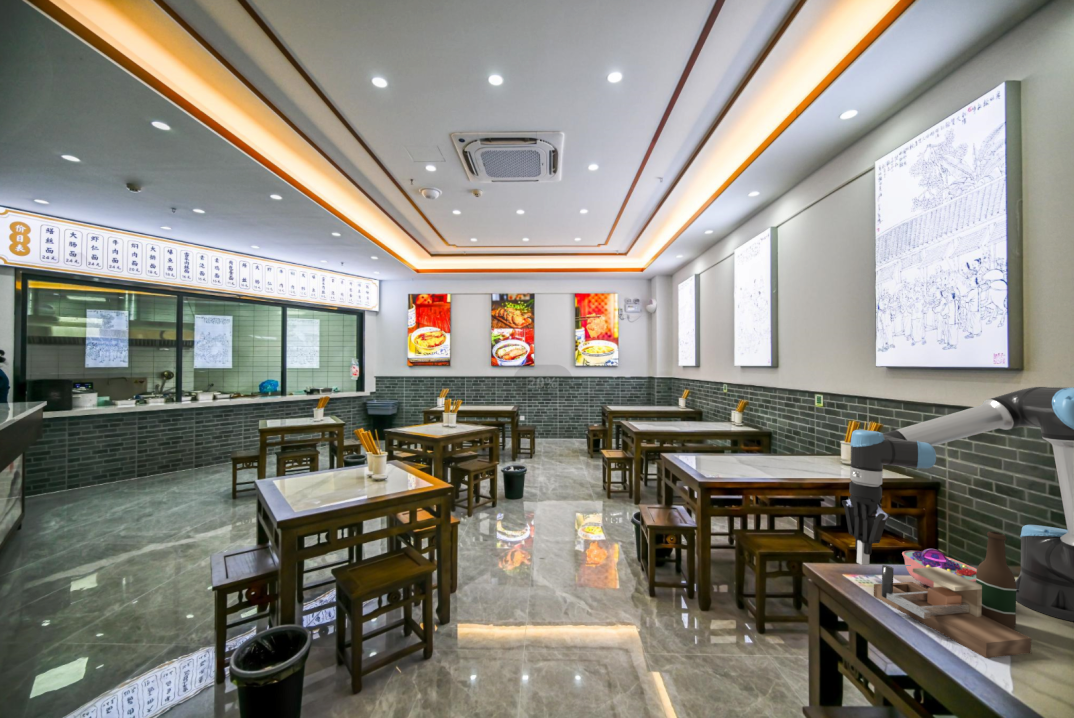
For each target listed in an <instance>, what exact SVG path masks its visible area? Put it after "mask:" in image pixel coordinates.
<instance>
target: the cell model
mask: <svg viewBox="0 0 1074 718" xmlns="http://www.w3.org/2000/svg"><path fill="white" fill-rule="evenodd" d="M901 554H902V556H903V559H904V566H905V565H911V566H905V568H906V570H907V572H908V573H909V575H910V576H911V578H912V579H914V580H916V581H917V582H918V583H920V584H922V585H924V586H927V587H929V588H932V587H934V581H931V580H929V579H927V578H925V577H923V576H920V575H918V574H916V573H914V572H913V568H930V567H939V568H942V569H944V570H947V571H949V572H951V573H954V574H956V575H959V576H961V577H963V578H966V579H968V580H971V581H973V582H975V583H976V572H977V568H976V567H974V566H971V565H968V564H966V563H965V562H962V561H959V560H958V559H957V560H956V559H954V558H952V557H948V556H946V555H945V554H944V552H941V551H940V550H938V549H935V548H926V549H924V550H921V551H920V550H905V551H902V553H901Z"/></svg>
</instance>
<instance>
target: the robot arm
mask: <svg viewBox="0 0 1074 718" xmlns="http://www.w3.org/2000/svg"><path fill="white" fill-rule="evenodd" d="M1023 427H1024V428H1025V427H1026V428H1027V427H1032V428H1033V427H1034V428H1035V427H1036V428H1040V432H1041V437H1042V439H1043V440H1045V441H1047V442H1049V443H1050V444H1051V446H1052V451H1053V457H1054V461H1055V462H1054V463H1055V466H1056V471H1057V473H1056V474H1057V478H1058V485H1059V490H1060V495H1061V500H1062V506H1063V512H1064V513H1063V514H1064V517H1065V518H1064V519H1065V524H1066V528H1067V529H1065V528H1060V527H1059V528H1058V527H1052V526H1047V525H1037V524H1026V525H1023V526H1022V528H1021V532H1020V536H1019V537H1020V573H1019V575H1018V577H1017V578H1016V579H1015V581H1016V603H1018V604H1020V605H1023V606H1024V607H1027V608H1030V609H1031V610H1033V611H1036V612H1038V613H1042V614H1044V615H1048V616H1050V617H1054V618H1057V619H1061V620H1065V621H1070V622H1074V387H1071V386H1070V387H1068V386H1067V387H1064V386H1063V387H1061V386H1060V387H1058V386H1057V387H1055V386H1053V387H1052V386H1034V387H1033V386H1032V387H1028V388H1027V387H1026V388H1022V389H1019V390H1015V391H1011V392H1008V393H1005V394H1004V393H1003V394H1001V395H999V396H995V397H991V398H988V399H985V400H984V401H983V403H982V404H981V405H976V406H974V407H970V408H967V409H964V410H961V411H957V412H953V413H950V414H946V415H942V416H939V417H935V418H932V419H929V420H924V421H922V422H919V423H915V424H911V425H908V426H905V427H901V428H897V429H895V430H890V431H886V432H884V433H883V432H881V431H880V432H879V431H875V430H865V429H855V430H853V431H852V433H851V438H850V444H849V445H850V466H849V467H850V469H849V479H850V481H849V489H848V490H849V494H850V496H849V499H846V500H841V503H842V506H843V507H844V512H845V513H844V514H845V519H846V524H847V530H848V531H847V532H848V534H849V535H850V536H853V537H854V540H855V541H854V542H855V543H854V544H855V545H854V546H855V547H854V548H855V550H856V563H857V564H859V565H861V566H866V565H870V555H872V553H873V551H872V550H873V544H880V543H881V540H882V537H883V533H884V529H885V526H886V523H887V521H888V520H889V519H890V517H891V514H890V513H887V512H885V511H884V510H883V509H882V504H881V500H882V497H883V487H882V486H881V485H883V469H884V467H883V466H884V465H885V466H893V467H894V466H896V467H897V466H898V467H905V468H913V469H916V470H917V469H931V468H932V467H934V465H936V461H937V454H936V449H935V448H934V447H935V446H939V445H943V444H946V443H950V442H953V441H954V442H955V441H957V440H961V439H965V438H967V437H971V436H975V435H980V434H982V433H987V432H990V431H994V430H998V429H1001V430H1006V431H1007V430H1012V429H1014V428H1023Z"/></svg>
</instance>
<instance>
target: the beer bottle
mask: <svg viewBox="0 0 1074 718" xmlns="http://www.w3.org/2000/svg"><path fill="white" fill-rule="evenodd" d="M986 536H987V537H988V539H987V545H986V546H987V547H986V554H985V555H986V556H985V557H984V560H982V561H981V562H980V563H979V565H978V566H977V568H976V569H977V572H976V583H978V584H980V585H982V608H981V615H983V616H985V617H987V618H990V619H992V620H994V621H996V622H998V623H1000V624H1002V625H1004V626H1006V627H1009V628H1011V629H1013V630H1015V631H1016V626H1017V625H1016V624H1017V621H1016V620H1017V619H1016V618H1017V601H1016V578H1015V576H1014V572H1013V571H1012V569H1011V568H1010V567H1009V566H1008V563H1007V557H1006V543H1005V541H1007V537H1006V535H1005V534H1004V533H1001V532H997V531H994V530H993V531H991V530H990V531H987V533H986Z"/></svg>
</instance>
